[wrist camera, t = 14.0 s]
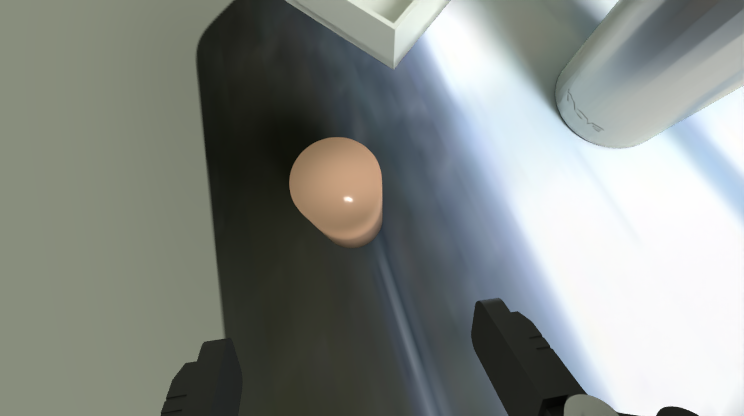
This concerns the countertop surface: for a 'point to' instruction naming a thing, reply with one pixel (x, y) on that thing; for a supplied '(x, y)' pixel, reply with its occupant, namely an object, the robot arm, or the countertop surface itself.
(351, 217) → the terracotta cylinder
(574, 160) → the countertop surface
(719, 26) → the robot arm
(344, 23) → the grey tote
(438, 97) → the countertop surface
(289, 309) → the countertop surface
